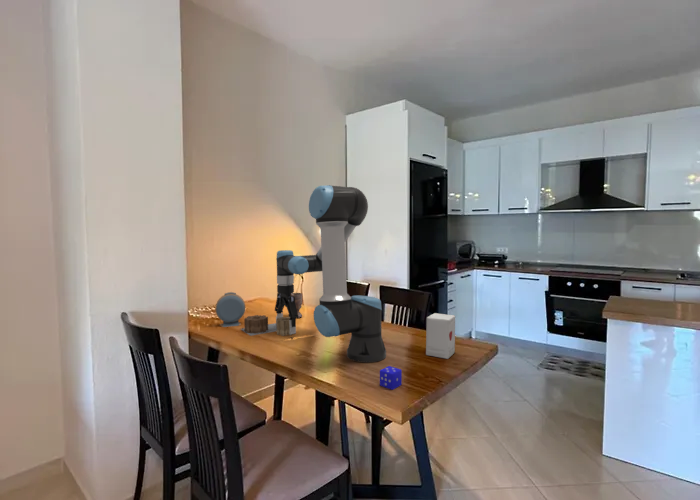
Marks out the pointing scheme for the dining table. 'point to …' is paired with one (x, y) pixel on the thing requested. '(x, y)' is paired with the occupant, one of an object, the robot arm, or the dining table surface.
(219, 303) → the alarm clock
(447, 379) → the dining table surface
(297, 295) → the mortar and pestle
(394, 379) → the die
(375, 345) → the robot arm
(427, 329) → the supplement box
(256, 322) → the walnut gear
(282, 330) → the maple gear
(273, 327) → the gear board
